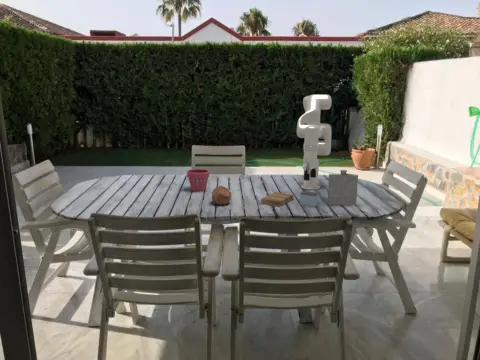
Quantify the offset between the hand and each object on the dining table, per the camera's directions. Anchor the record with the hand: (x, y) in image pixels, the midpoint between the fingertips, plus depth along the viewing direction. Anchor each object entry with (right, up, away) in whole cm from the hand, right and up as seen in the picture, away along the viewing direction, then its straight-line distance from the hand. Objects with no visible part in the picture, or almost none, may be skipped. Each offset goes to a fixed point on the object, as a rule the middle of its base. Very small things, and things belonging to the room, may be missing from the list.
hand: (309, 178), depth 227 cm
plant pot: (-66, -7, +36) cm, 76 cm away
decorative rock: (-50, -14, +6) cm, 52 cm away
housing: (0, -15, +4) cm, 15 cm away
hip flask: (+19, -15, +4) cm, 24 cm away
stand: (-17, -13, +10) cm, 24 cm away
